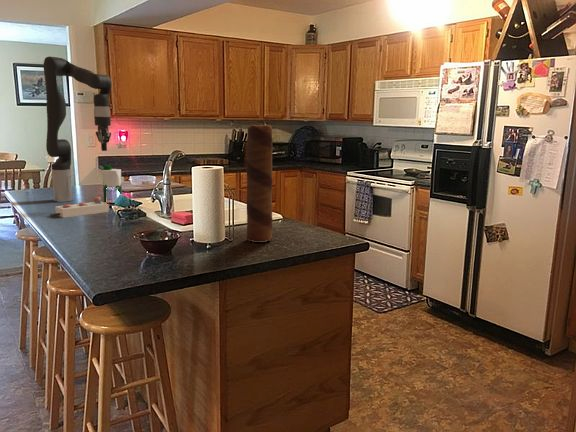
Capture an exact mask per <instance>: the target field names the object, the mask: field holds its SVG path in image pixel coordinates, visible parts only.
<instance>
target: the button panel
mask: <svg viewBox="0 0 576 432" xmlns="http://www.w3.org/2000/svg"><path fill="white" fill-rule="evenodd" d="M85 203H86V206H79V203H74V204H70V207H69V208H63V205H58V206H57V205H55V208H54V210H55V212H54V213H50V214H49V216H50V217H60V218H72V217H73V218H74V217H81V216H86V215H87V216H88V215H93V214H94V215H96V214H103V213H108V212H109V213H110V204H107V203H106V202H104V201H101V203H94V201H93V202H85Z"/></svg>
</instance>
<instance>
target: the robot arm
mask: <svg viewBox="0 0 576 432" xmlns="http://www.w3.org/2000/svg"><path fill="white" fill-rule="evenodd" d="M43 74H44V75H43V76H44V81H45V90H46V91H45V92H46V119H47V120H46V122H47V123H46V124H47V125H46V127H47V129H46V148H45V149H46V152H47V155H48V156H49V157H51V158H58V159H57V161H55V162H53V163H52V164H51V177H52V186H53V187H52V188H53V201H54V202H59V203H61V202H63V203H64V202H71V201H73V188H72V173H71V165H72V148H71V144H70V142H69V141H68V140H67V139H63V138H62V139H58V138H59V132H60V128H61V126H62V125H63V122H64V121H65V119H66V118H67V117H66V116H67V103H66V100H65V97H64V95H63V94H62V92H61V91H60V89H59V86H58V82H57V77H69V78H70V77H71V78H73V79H74V80H75V81H76V82H79V83H82V84H84V85H86V86H88V87H89V88H92V89H94V90H95V89H96V90H99V93H96V94H94V96H93V108H94V109H93V116H94V126H97V131H95V136H96V138H97V141H98V142H99V143H100V147H101V148H100V149H101V151H102V152H107V151H108V149H107V148H108V146H107V145H108V143H109V142H110V140H111V137H112V133H111V132H109V130H110V129H109V126H111V124H112V122H111V121H112V120H111V110H110V99H109V98H110V95H111V90H112V85H113V84H112V80H111V78H110V76H109V75H107V74H97V73H95V72H94V71H92V70H90V69H89V70H88V69H86V68H84V67H80V66H78V65H75V64H73V63H72V62H70V61H68V60H67V59H65V58H63V57H57V56H56V57H55V56H46V57H45V58H44V60H43Z"/></svg>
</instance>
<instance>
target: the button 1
mask: <svg viewBox="0 0 576 432" xmlns="http://www.w3.org/2000/svg"><path fill="white" fill-rule="evenodd" d="M70 205H71V204H67V203H66V204H65V203H64V204H63V205H62V206H63V208H69V207H70Z"/></svg>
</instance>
